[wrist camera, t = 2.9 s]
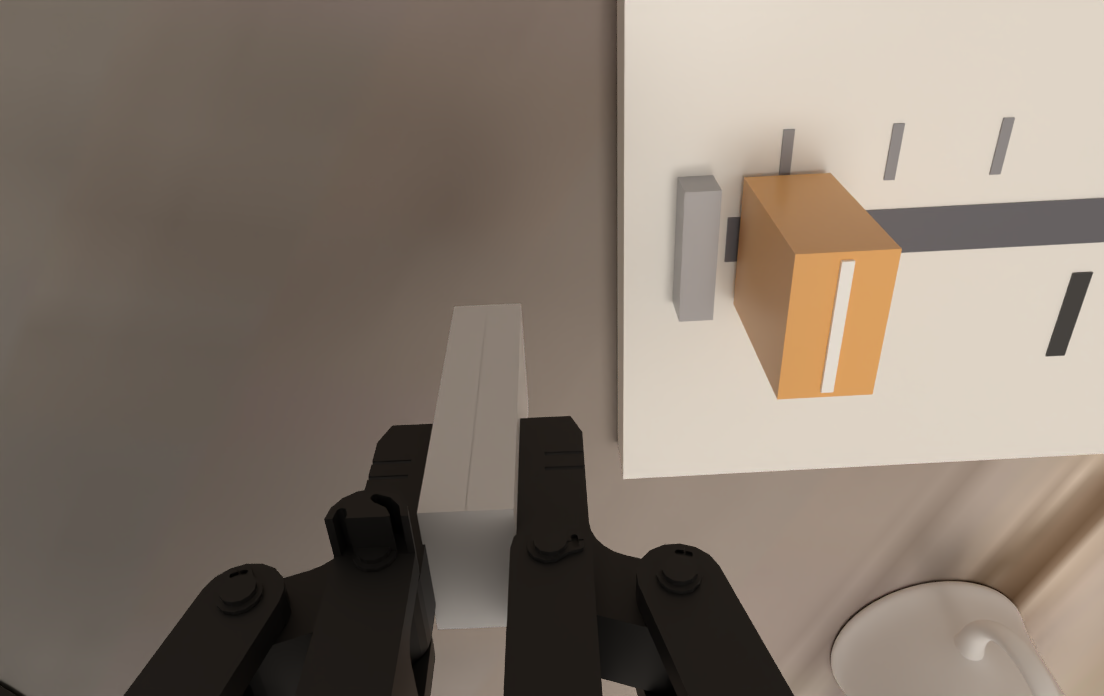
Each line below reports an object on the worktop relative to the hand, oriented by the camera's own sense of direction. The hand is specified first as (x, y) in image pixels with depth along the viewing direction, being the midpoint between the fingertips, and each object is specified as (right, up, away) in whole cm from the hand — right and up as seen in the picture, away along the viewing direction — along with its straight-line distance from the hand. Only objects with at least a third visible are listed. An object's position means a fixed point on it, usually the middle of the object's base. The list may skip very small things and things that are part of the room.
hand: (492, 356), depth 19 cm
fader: (+8, +3, +5) cm, 10 cm away
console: (+14, +4, +7) cm, 17 cm away
